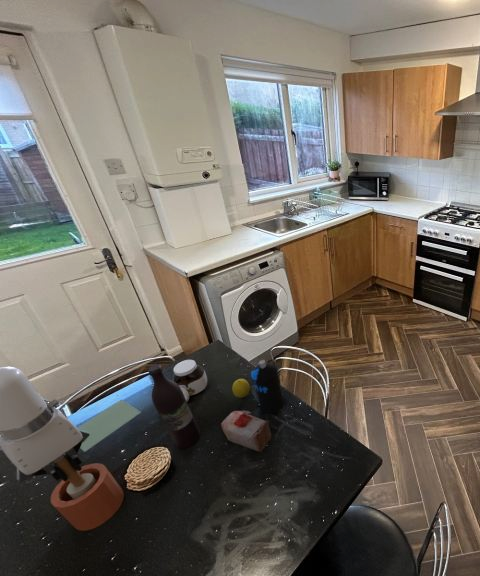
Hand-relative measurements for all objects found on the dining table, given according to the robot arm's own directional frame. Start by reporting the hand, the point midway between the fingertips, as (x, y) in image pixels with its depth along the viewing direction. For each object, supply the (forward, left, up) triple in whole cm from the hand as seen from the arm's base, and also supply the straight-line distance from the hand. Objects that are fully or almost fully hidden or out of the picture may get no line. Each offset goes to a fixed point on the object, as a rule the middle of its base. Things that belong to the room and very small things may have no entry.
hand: (70, 472), depth 73 cm
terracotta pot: (0, 0, -16) cm, 16 cm away
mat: (+14, +27, -16) cm, 34 cm away
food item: (+32, -19, -16) cm, 40 cm away
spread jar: (+35, +14, -16) cm, 41 cm away
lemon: (+43, -4, -16) cm, 46 cm away
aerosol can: (+45, -16, -16) cm, 50 cm away
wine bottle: (+23, -2, -16) cm, 28 cm away
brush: (0, 0, -10) cm, 10 cm away
